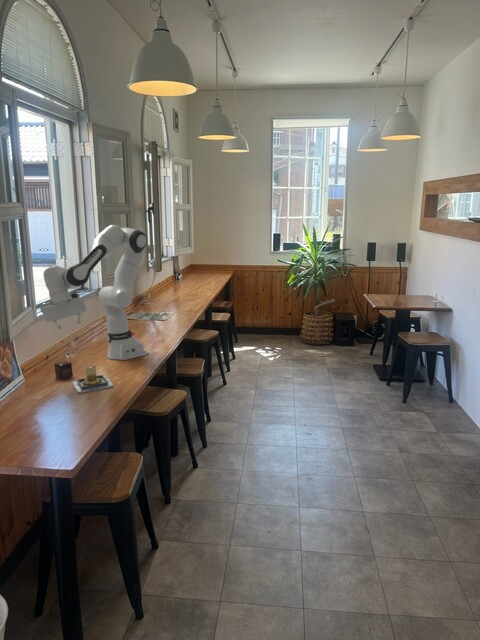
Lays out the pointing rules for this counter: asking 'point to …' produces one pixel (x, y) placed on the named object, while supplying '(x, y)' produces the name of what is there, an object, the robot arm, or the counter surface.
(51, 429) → the counter surface
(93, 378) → the tan chunky piece
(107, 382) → the carrier
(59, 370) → the box
